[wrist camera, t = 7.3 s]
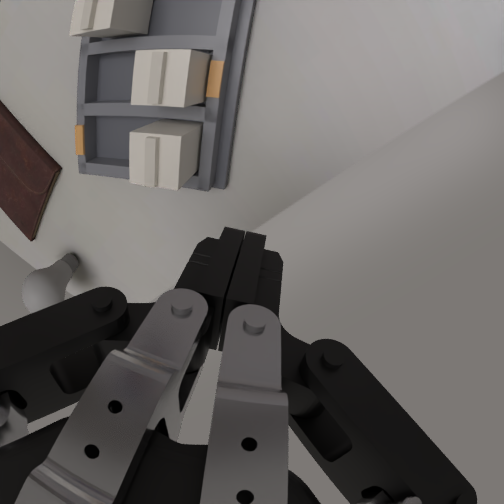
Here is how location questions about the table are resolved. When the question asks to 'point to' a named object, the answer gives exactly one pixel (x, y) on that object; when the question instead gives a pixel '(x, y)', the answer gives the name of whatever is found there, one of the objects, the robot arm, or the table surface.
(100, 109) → the switch bank
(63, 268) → the lightbulb
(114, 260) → the table surface
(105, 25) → the white ridged block
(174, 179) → the white oblong block
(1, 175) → the notebook
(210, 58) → the white rectangular block
